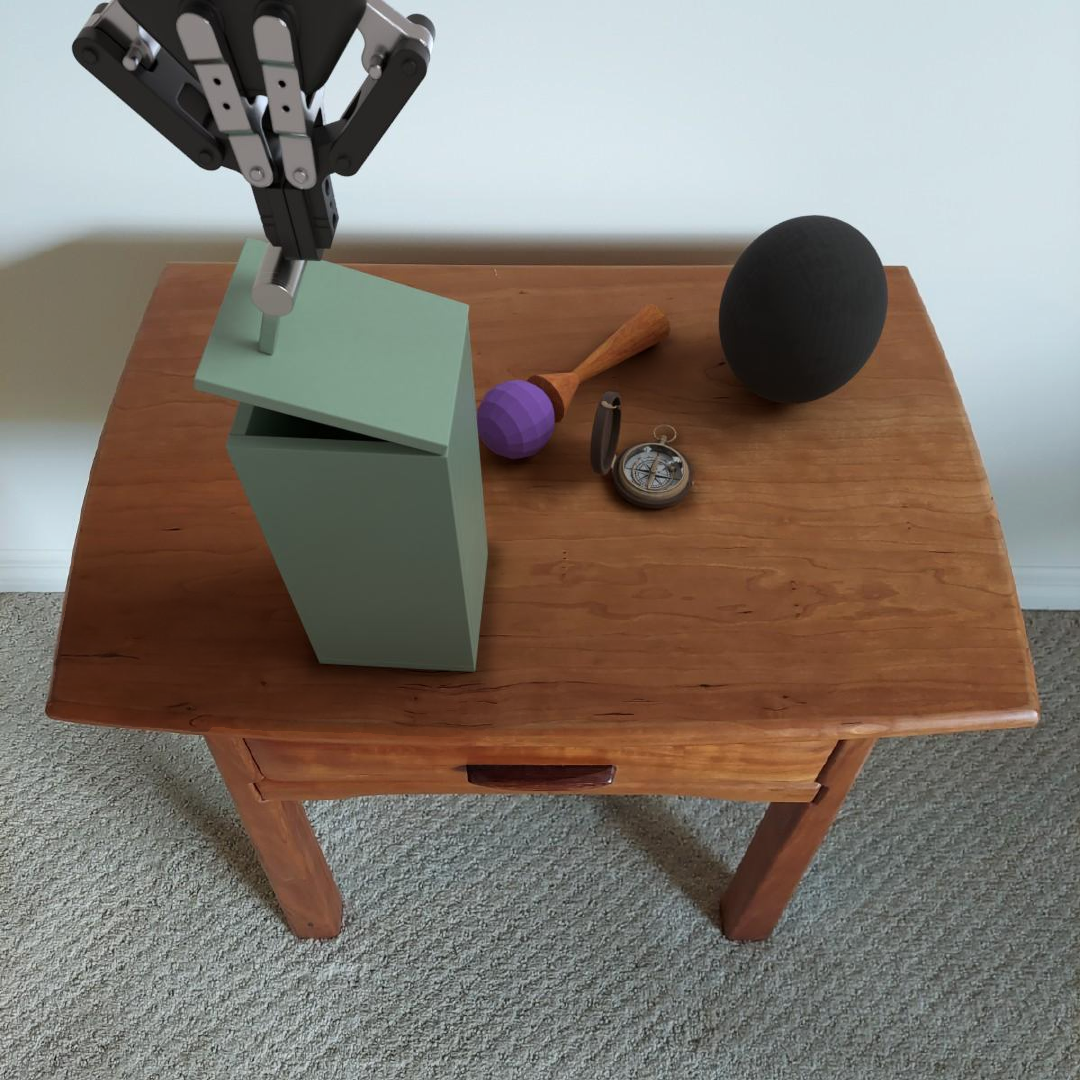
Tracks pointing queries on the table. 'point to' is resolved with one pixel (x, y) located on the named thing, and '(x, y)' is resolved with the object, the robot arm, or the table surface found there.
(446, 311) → the bin lid
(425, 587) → the trash can
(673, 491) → the compass
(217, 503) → the table surface
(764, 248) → the decorative egg
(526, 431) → the kendama
